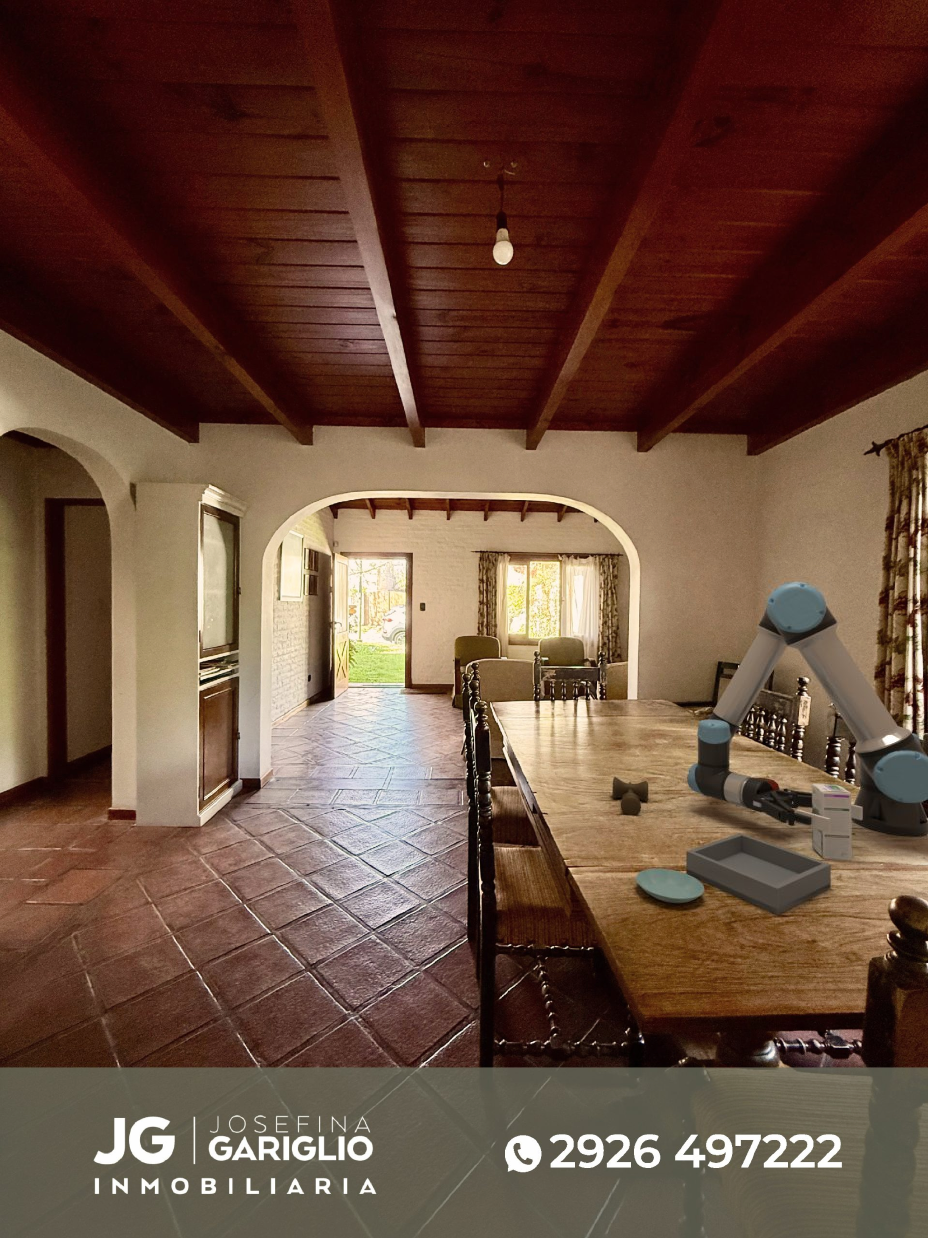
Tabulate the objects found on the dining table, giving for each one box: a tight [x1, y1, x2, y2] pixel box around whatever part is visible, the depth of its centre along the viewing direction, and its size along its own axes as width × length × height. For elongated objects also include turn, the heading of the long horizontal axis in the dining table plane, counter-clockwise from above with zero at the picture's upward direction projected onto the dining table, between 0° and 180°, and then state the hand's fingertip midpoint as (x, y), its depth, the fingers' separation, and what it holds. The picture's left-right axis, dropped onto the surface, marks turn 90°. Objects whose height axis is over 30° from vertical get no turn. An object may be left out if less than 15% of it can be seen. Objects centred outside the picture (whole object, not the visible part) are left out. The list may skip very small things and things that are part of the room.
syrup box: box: [811, 783, 853, 862], centre depth 120 cm, size 6×6×14 cm
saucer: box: [635, 868, 705, 904], centre depth 103 cm, size 12×12×2 cm
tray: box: [685, 832, 832, 916], centre depth 108 cm, size 18×18×4 cm
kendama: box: [611, 776, 649, 816], centre depth 153 cm, size 6×10×20 cm
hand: (846, 819), depth 118 cm, fingers open, 13 cm apart
